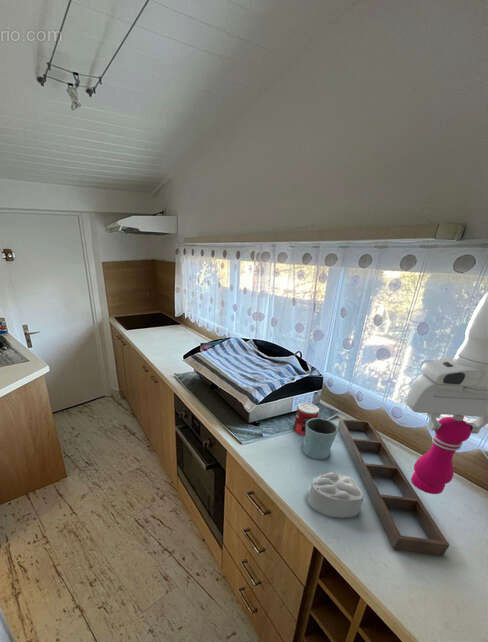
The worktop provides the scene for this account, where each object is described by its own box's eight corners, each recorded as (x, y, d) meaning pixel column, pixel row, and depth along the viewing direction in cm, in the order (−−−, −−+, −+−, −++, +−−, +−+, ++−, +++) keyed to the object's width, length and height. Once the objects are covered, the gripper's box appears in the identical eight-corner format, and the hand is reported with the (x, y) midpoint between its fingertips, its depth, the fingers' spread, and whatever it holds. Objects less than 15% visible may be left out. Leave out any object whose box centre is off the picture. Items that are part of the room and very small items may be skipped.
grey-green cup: (328, 447, 113) (335, 419, 107) (332, 464, 104) (340, 435, 98) (299, 443, 115) (305, 416, 109) (301, 460, 106) (307, 431, 101)
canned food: (300, 423, 127) (304, 400, 122) (318, 432, 121) (323, 408, 116) (289, 430, 123) (293, 406, 117) (307, 439, 117) (312, 415, 112)
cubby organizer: (366, 431, 121) (370, 421, 119) (441, 558, 74) (449, 545, 71) (337, 429, 123) (340, 418, 121) (391, 551, 75) (398, 538, 73)
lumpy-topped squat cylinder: (361, 519, 84) (370, 496, 80) (314, 519, 84) (320, 496, 80) (345, 491, 93) (352, 469, 89) (302, 491, 93) (307, 469, 89)
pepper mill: (443, 480, 74) (478, 409, 65) (447, 500, 69) (486, 426, 59) (407, 470, 78) (436, 402, 68) (408, 489, 72) (440, 417, 63)
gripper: (529, 367, 60) (496, 426, 67) (414, 363, 64) (394, 419, 70) (556, 381, 55) (518, 443, 61) (429, 375, 58) (406, 435, 65)
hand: (451, 430), depth 66 cm, fingers closed on pepper mill, 6 cm apart
